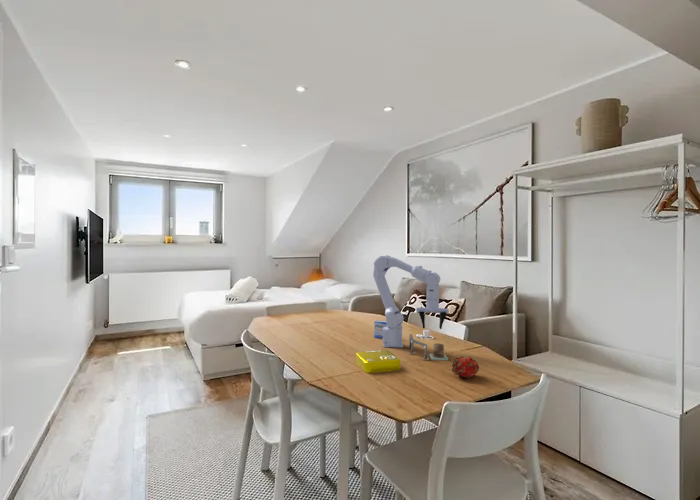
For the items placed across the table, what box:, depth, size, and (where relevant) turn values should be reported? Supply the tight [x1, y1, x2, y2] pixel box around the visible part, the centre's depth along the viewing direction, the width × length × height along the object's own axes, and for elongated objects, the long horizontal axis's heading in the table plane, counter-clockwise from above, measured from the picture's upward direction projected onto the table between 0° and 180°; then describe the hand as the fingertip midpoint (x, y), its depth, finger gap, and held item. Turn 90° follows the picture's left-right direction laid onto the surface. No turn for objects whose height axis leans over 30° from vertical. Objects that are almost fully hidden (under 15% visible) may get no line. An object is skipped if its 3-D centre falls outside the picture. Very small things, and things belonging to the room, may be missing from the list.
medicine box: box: [373, 319, 387, 339], centre depth 196 cm, size 8×4×9 cm, turn 73°
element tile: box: [355, 349, 402, 374], centre depth 150 cm, size 15×15×5 cm
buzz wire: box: [407, 333, 430, 362], centre depth 168 cm, size 7×20×6 cm, turn 175°
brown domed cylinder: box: [433, 343, 445, 358], centre depth 162 cm, size 5×5×5 cm
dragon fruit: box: [451, 355, 480, 379], centre depth 139 cm, size 8×8×12 cm
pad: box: [428, 352, 449, 361], centre depth 162 cm, size 7×8×1 cm
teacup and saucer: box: [415, 329, 435, 340], centre depth 198 cm, size 9×8×4 cm
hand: (432, 328), depth 173 cm, fingers open, 7 cm apart
